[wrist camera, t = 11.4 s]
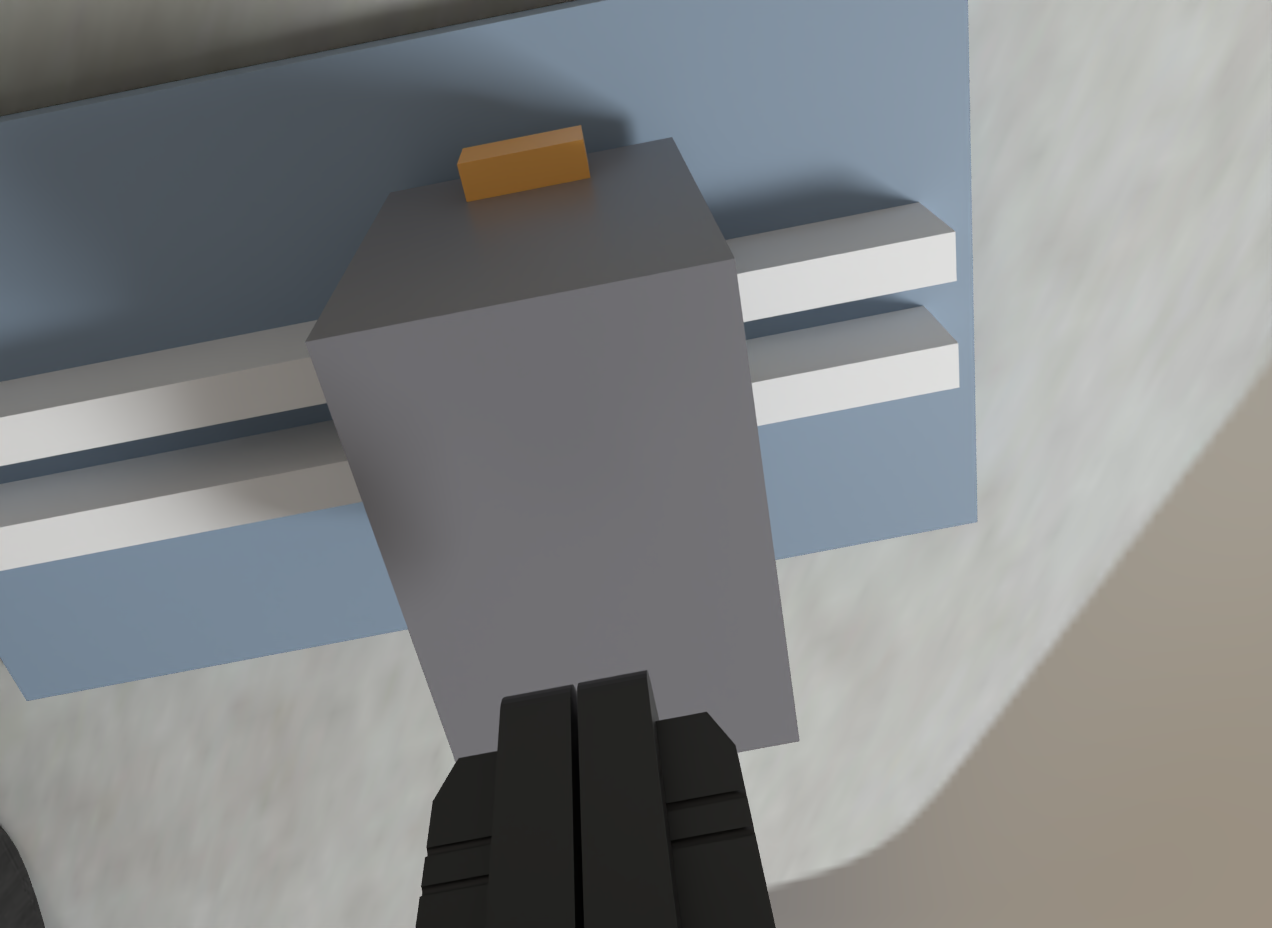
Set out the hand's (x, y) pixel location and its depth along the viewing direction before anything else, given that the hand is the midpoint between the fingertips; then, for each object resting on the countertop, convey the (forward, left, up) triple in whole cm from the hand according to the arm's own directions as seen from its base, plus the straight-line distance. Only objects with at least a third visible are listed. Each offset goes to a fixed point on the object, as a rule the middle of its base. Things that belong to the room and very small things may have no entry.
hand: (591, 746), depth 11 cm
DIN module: (0, 0, -10) cm, 10 cm away
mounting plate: (0, -3, -12) cm, 13 cm away
